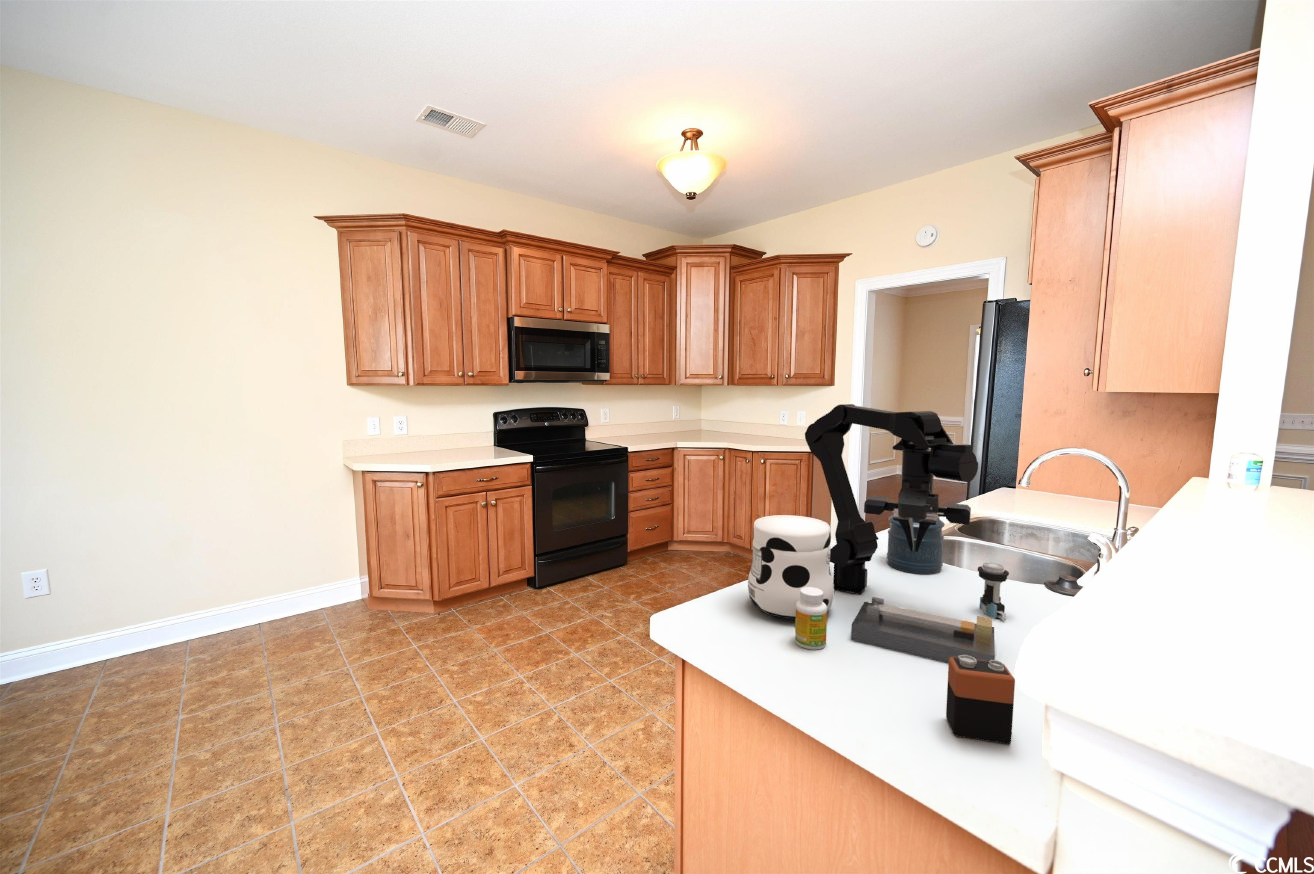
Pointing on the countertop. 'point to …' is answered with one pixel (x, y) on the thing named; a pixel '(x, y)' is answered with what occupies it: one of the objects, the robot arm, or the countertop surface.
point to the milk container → (789, 562)
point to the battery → (980, 699)
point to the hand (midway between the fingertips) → (914, 551)
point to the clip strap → (926, 618)
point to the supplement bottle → (811, 619)
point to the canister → (914, 562)
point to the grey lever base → (922, 636)
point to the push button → (992, 589)
